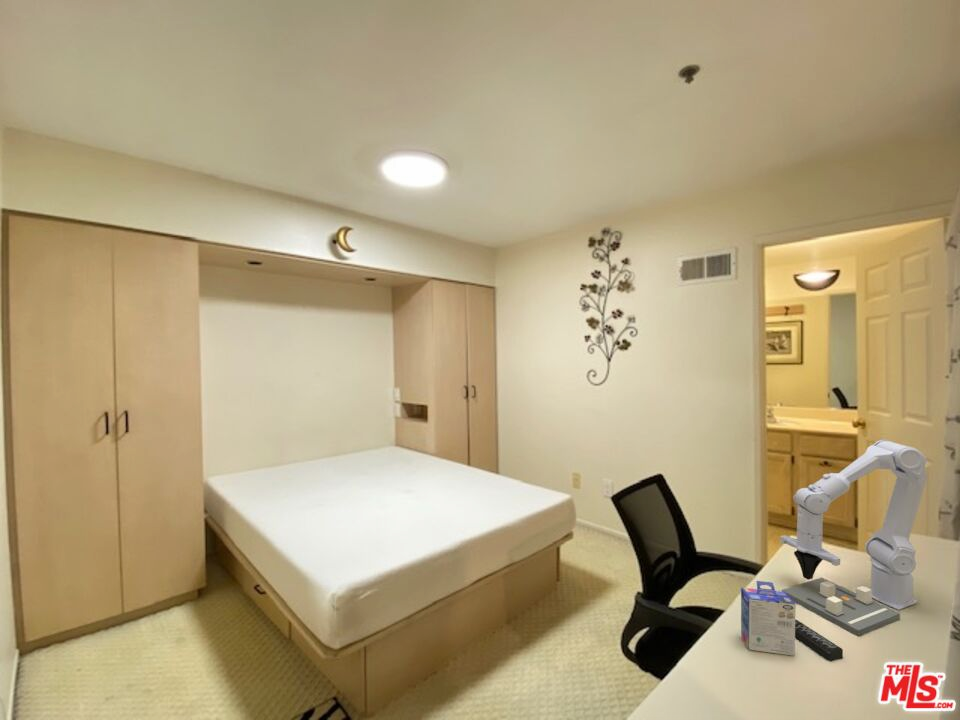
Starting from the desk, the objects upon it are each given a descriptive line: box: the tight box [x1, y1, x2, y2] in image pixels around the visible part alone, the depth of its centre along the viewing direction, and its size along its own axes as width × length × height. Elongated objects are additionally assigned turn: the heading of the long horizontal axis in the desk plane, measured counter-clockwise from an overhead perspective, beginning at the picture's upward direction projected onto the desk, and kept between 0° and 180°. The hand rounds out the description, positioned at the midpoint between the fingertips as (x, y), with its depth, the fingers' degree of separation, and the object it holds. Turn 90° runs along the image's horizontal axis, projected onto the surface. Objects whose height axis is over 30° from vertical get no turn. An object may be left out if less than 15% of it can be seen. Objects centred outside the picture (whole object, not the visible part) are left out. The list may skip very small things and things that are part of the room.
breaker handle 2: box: [854, 585, 875, 605], centre depth 113 cm, size 3×3×3 cm
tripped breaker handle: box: [818, 580, 837, 598], centre depth 115 cm, size 3×3×3 cm
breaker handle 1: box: [824, 596, 844, 616], centre depth 108 cm, size 3×3×3 cm
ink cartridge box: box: [740, 580, 797, 657], centre depth 98 cm, size 10×6×14 cm, turn 78°
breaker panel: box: [781, 577, 901, 637], centre depth 113 cm, size 18×18×2 cm
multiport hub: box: [795, 619, 844, 662], centre depth 99 cm, size 4×11×2 cm, turn 15°
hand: (807, 577), depth 120 cm, fingers closed
